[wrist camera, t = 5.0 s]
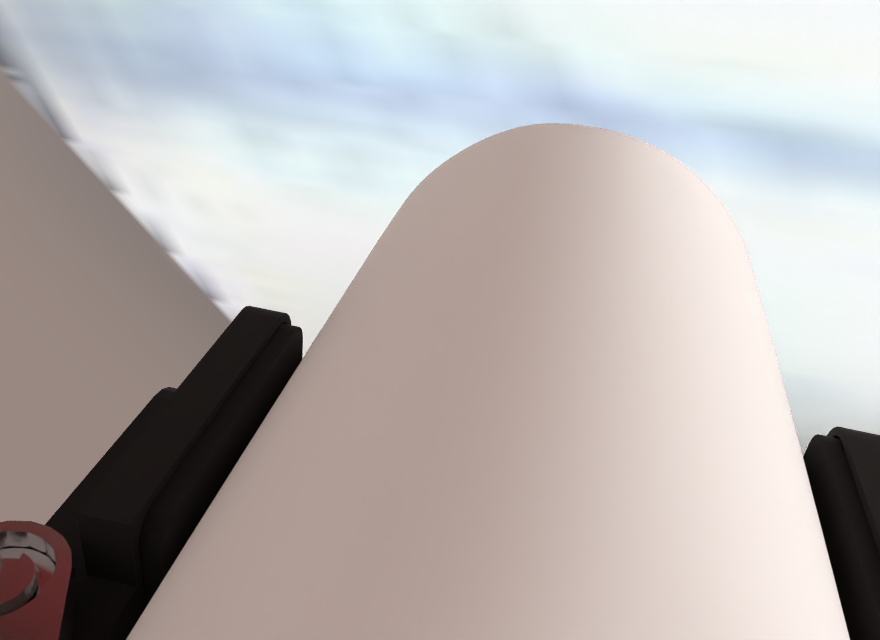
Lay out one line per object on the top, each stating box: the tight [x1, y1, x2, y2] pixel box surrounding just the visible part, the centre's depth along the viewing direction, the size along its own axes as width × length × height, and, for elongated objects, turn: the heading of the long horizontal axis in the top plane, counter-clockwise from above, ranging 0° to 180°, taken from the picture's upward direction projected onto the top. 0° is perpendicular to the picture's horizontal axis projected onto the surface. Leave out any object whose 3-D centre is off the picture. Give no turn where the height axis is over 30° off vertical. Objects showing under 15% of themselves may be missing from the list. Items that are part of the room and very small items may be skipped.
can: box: [126, 123, 850, 640], centre depth 10 cm, size 6×6×12 cm
